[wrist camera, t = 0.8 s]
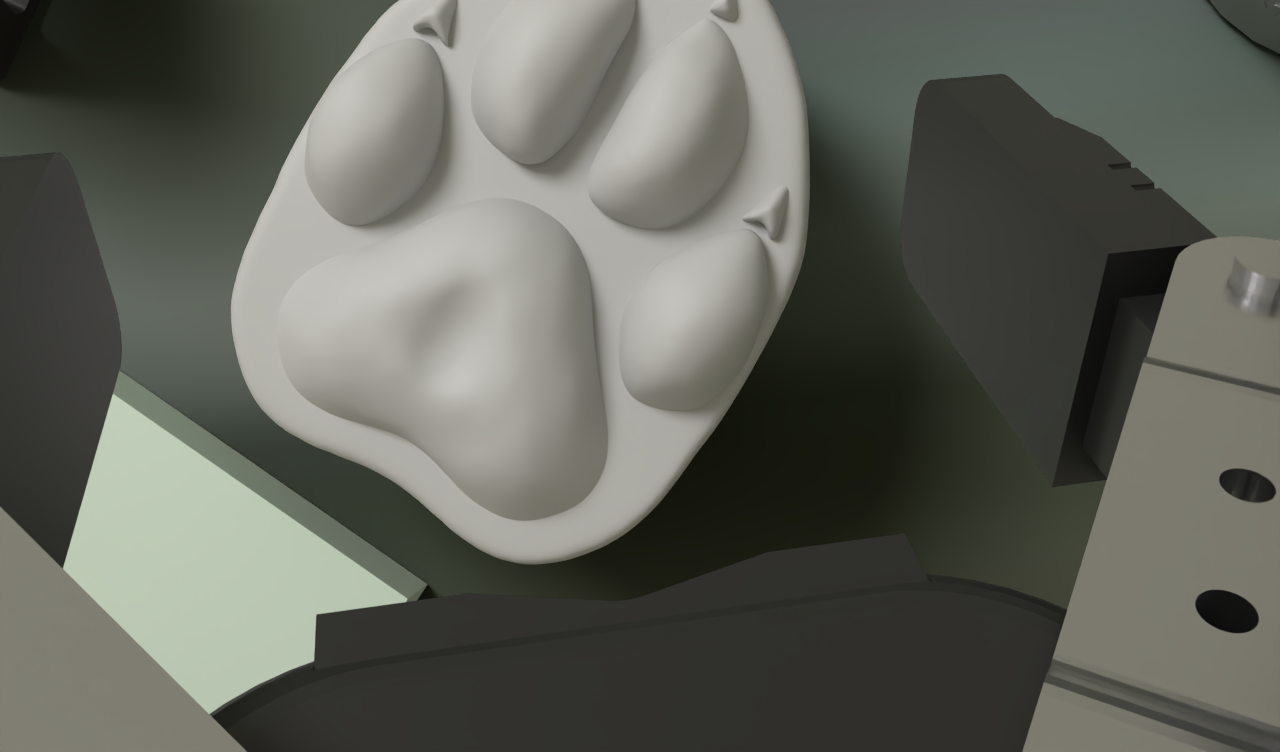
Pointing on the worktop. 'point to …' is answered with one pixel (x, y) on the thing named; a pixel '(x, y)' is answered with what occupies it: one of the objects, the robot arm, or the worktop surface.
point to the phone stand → (13, 28)
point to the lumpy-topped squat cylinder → (531, 256)
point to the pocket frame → (213, 553)
